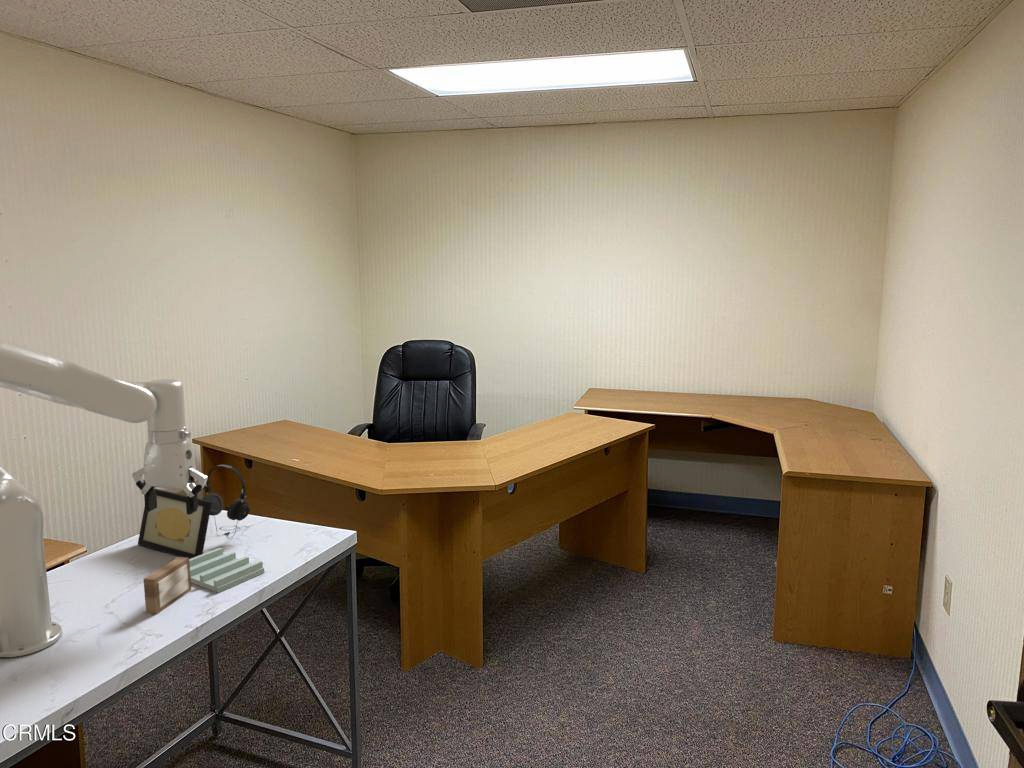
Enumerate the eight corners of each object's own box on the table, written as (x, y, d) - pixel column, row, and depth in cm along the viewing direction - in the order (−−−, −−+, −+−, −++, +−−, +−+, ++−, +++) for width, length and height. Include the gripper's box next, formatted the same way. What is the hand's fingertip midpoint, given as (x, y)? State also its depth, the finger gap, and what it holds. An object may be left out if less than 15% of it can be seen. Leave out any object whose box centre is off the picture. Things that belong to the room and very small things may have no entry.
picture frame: (137, 545, 195) (138, 489, 194) (166, 537, 203) (168, 484, 202) (197, 562, 184) (199, 503, 183) (226, 554, 192) (228, 497, 191)
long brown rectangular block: (157, 615, 158) (154, 580, 156) (146, 613, 158) (143, 578, 157) (192, 590, 169) (189, 557, 168) (181, 589, 170) (179, 556, 168)
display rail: (218, 592, 168) (217, 581, 168) (172, 575, 177) (172, 564, 176) (264, 572, 179) (263, 562, 178) (219, 557, 188) (218, 547, 187)
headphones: (269, 531, 206) (266, 462, 202) (238, 545, 196) (234, 472, 192) (229, 522, 212) (225, 455, 208) (197, 535, 202) (192, 465, 198)
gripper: (213, 434, 163) (217, 508, 166) (141, 430, 166) (146, 503, 168) (194, 442, 156) (198, 519, 159) (119, 438, 158) (124, 514, 161)
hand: (171, 511), depth 164 cm, fingers open, 9 cm apart
